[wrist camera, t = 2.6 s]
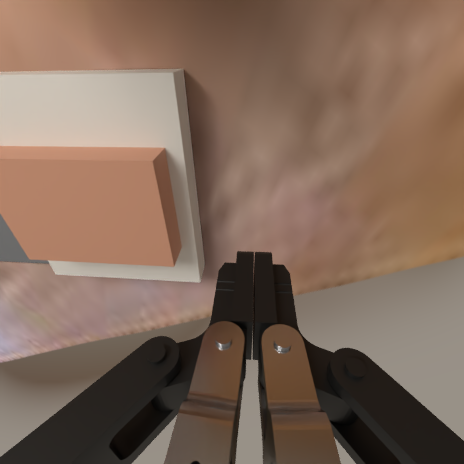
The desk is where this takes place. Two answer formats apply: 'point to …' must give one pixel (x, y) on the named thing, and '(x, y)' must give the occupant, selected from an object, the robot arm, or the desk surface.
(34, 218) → the terracotta notepad
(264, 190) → the desk surface
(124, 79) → the desk riser
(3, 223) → the rubber mat
